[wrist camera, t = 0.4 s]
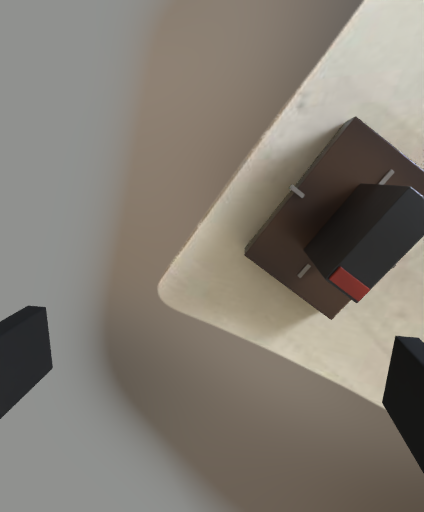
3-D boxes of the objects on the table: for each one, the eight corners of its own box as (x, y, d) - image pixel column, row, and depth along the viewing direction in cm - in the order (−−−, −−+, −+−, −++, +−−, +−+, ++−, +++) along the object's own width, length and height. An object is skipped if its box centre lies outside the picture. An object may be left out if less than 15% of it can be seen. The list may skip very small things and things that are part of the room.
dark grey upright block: (360, 182, 25) (412, 185, 17) (385, 202, 25) (448, 214, 17) (302, 249, 27) (325, 280, 19) (326, 267, 27) (358, 305, 19)
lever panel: (340, 117, 26) (350, 110, 24) (441, 197, 27) (461, 199, 24) (239, 245, 30) (238, 251, 27) (329, 312, 30) (337, 325, 28)
